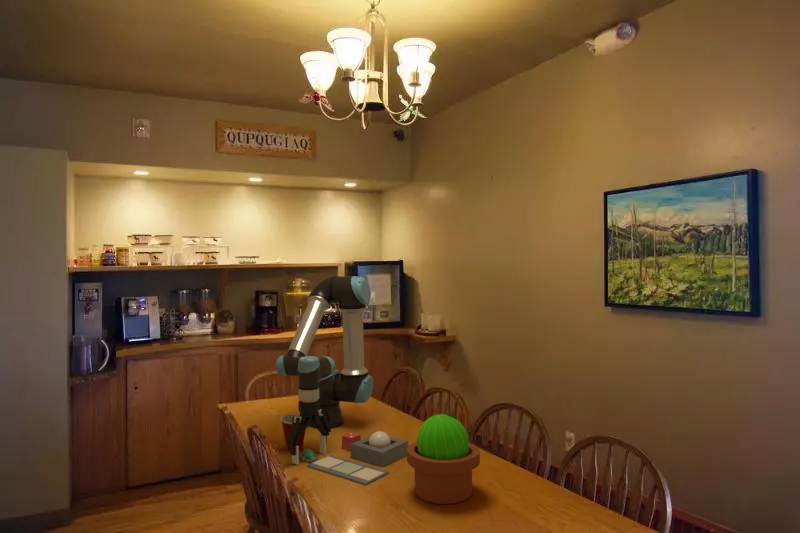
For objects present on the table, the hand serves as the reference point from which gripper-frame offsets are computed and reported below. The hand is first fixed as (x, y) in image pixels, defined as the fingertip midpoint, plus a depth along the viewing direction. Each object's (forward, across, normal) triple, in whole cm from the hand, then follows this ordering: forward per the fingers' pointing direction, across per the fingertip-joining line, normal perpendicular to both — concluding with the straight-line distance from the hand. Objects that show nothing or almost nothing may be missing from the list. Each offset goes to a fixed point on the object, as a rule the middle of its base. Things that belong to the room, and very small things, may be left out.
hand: (309, 458), depth 205 cm
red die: (0, -17, +5) cm, 18 cm away
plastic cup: (0, -4, -12) cm, 13 cm away
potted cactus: (0, -4, +55) cm, 55 cm away
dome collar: (0, -17, +19) cm, 26 cm away
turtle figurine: (+1, +1, +1) cm, 2 cm away
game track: (0, 0, +18) cm, 19 cm away
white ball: (-1, -17, +19) cm, 26 cm away
